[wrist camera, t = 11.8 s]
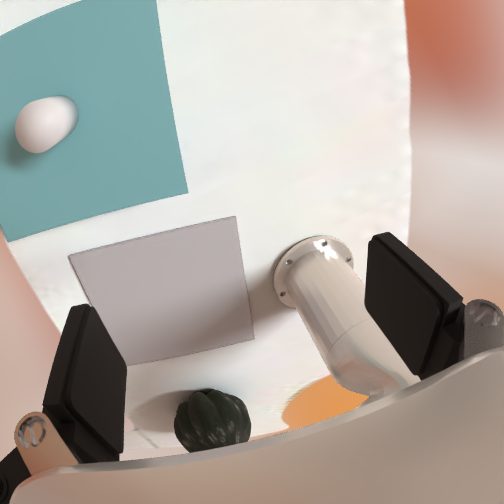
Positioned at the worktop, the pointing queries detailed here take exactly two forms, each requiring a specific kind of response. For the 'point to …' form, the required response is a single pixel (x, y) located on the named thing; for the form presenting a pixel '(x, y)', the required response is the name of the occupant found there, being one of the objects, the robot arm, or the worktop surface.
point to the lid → (84, 116)
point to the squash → (212, 421)
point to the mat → (170, 291)
